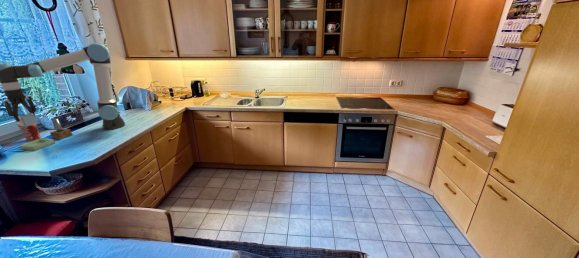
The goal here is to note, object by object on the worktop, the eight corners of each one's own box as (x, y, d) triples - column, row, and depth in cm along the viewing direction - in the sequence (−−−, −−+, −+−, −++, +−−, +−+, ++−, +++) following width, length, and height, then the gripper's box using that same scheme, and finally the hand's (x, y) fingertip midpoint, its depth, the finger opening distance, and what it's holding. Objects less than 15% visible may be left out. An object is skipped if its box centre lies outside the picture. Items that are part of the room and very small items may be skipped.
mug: (22, 140, 172) (13, 123, 167) (38, 136, 180) (30, 119, 175) (32, 143, 168) (24, 125, 163) (48, 138, 176) (40, 120, 171)
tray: (42, 142, 169) (40, 138, 168) (55, 143, 167) (53, 139, 166) (21, 149, 158) (19, 145, 157) (35, 151, 156) (33, 146, 155)
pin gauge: (63, 136, 179) (55, 118, 174) (66, 136, 178) (59, 118, 173) (58, 137, 176) (51, 119, 171) (62, 138, 176) (54, 120, 170)
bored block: (64, 134, 182) (61, 128, 180) (72, 135, 180) (70, 129, 178) (52, 138, 174) (49, 132, 173) (61, 139, 173) (58, 133, 171)
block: (30, 122, 160) (26, 114, 158) (37, 123, 159) (33, 114, 157) (19, 125, 155) (15, 117, 152) (26, 126, 153) (22, 117, 151)
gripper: (26, 85, 157) (40, 119, 166) (-13, 92, 140) (5, 128, 149) (35, 86, 156) (49, 119, 164) (-4, 92, 139) (14, 129, 147)
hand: (28, 123), depth 157 cm, fingers closed on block, 6 cm apart
